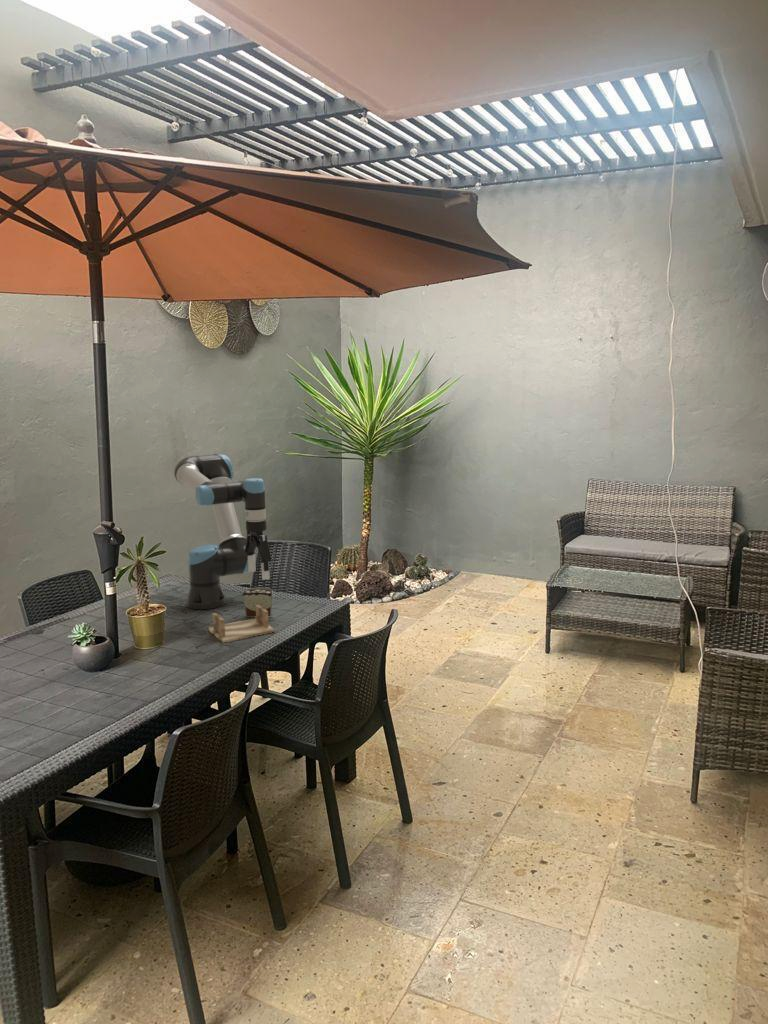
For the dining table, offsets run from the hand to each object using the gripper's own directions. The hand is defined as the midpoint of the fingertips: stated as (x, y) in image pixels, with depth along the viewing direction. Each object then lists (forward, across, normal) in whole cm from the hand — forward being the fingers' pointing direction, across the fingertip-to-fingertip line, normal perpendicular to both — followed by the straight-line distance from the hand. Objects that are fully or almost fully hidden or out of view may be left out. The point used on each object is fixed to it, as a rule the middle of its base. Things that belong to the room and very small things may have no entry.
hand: (258, 575), depth 276 cm
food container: (+16, 0, 0) cm, 16 cm away
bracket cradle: (+16, +14, -13) cm, 24 cm away
